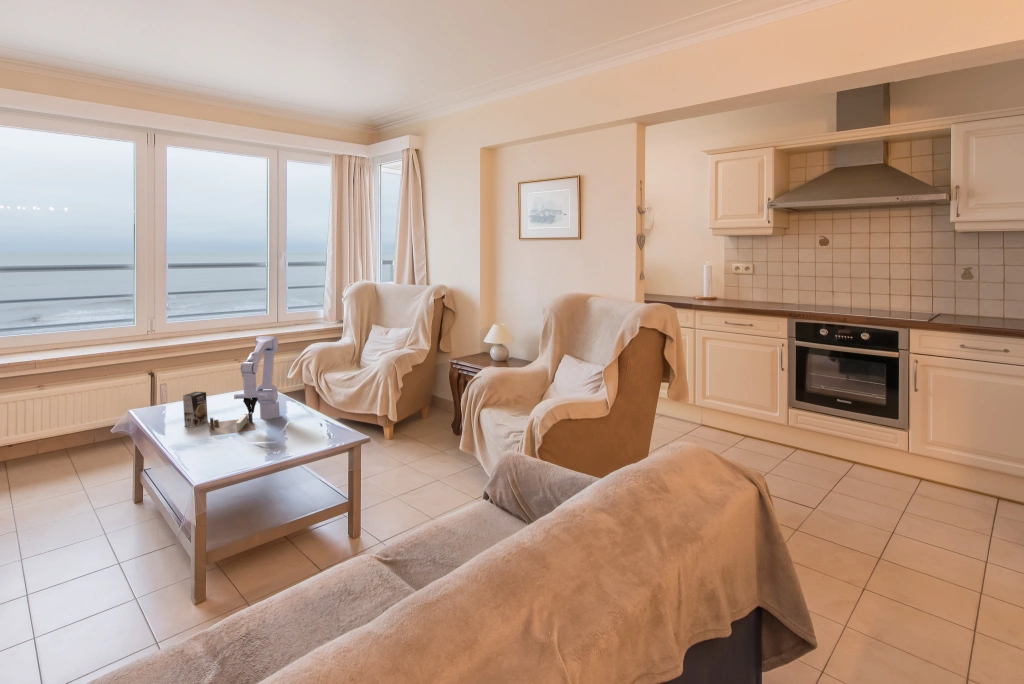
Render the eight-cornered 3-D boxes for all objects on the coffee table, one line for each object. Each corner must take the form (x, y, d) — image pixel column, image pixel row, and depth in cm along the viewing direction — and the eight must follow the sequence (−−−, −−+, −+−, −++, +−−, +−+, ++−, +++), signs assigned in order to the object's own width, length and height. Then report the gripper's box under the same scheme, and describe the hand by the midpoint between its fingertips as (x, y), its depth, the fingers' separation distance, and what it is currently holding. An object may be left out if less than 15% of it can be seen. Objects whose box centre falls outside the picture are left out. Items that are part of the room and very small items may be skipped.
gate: (245, 421, 287) (244, 413, 287) (248, 421, 288) (247, 413, 287) (236, 431, 272) (236, 422, 272) (239, 431, 273) (239, 422, 272)
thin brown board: (250, 419, 295) (250, 409, 294) (256, 431, 277) (255, 420, 276) (208, 424, 285) (207, 413, 284) (210, 437, 266) (209, 426, 265)
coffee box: (195, 427, 280) (193, 396, 277) (184, 426, 281) (182, 395, 278) (208, 422, 289) (206, 391, 286) (197, 421, 290) (195, 390, 287)
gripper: (231, 388, 268) (233, 415, 270) (263, 387, 271) (265, 414, 273) (235, 384, 275) (237, 411, 277) (267, 384, 278) (268, 410, 280)
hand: (251, 412), depth 276 cm, fingers closed
